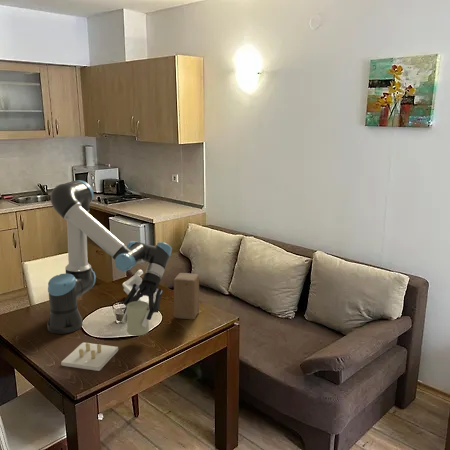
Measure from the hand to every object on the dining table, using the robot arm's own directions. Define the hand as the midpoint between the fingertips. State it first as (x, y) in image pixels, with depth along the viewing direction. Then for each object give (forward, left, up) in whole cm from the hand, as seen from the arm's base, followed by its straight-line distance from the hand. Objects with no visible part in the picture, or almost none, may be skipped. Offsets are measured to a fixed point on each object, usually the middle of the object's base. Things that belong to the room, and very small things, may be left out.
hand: (133, 324), depth 190 cm
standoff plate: (-13, -13, -10) cm, 21 cm away
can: (0, +3, -5) cm, 6 cm away
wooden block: (+12, +34, -10) cm, 38 cm away
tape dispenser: (-16, +45, -10) cm, 49 cm away
